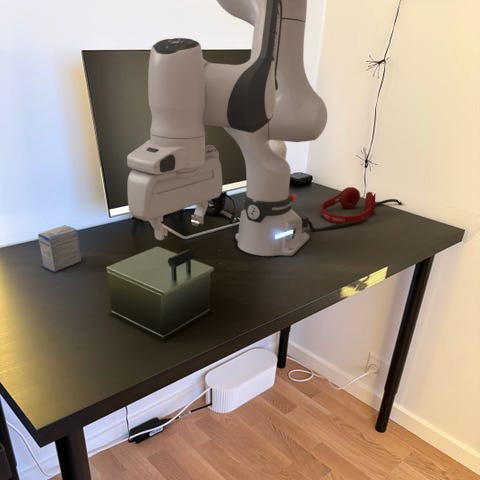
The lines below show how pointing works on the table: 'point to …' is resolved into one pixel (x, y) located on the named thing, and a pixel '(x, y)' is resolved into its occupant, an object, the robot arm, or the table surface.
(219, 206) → the controller
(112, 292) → the green hollow box
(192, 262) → the lid
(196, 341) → the table surface
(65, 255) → the medicine box
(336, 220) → the headphones
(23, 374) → the table surface
